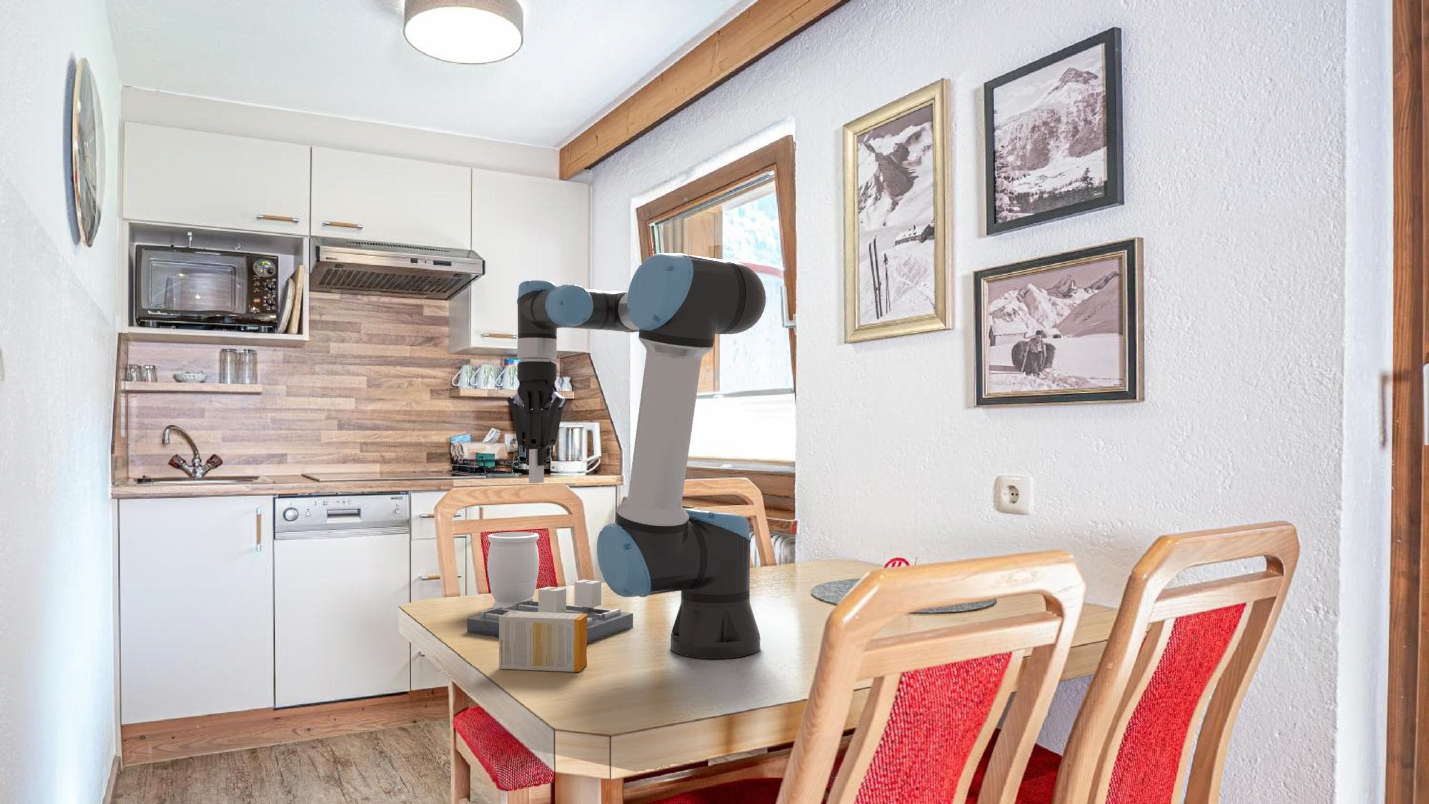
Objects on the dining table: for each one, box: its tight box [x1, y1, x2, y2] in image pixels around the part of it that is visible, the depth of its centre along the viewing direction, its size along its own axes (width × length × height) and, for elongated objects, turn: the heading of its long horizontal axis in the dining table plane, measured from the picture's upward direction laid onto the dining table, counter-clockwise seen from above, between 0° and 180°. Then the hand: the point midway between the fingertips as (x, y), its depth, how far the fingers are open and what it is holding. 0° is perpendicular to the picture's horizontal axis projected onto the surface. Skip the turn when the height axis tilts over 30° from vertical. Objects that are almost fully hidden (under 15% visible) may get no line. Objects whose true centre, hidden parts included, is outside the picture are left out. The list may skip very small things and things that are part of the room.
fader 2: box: [574, 579, 602, 613], centre depth 173 cm, size 4×3×6 cm
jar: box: [486, 531, 540, 609], centre depth 191 cm, size 11×10×15 cm
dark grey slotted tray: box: [466, 598, 634, 644], centre depth 171 cm, size 24×18×4 cm
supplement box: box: [498, 611, 588, 673], centre depth 145 cm, size 8×5×13 cm
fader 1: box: [537, 586, 567, 613], centre depth 165 cm, size 4×3×6 cm
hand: (536, 482), depth 181 cm, fingers closed
